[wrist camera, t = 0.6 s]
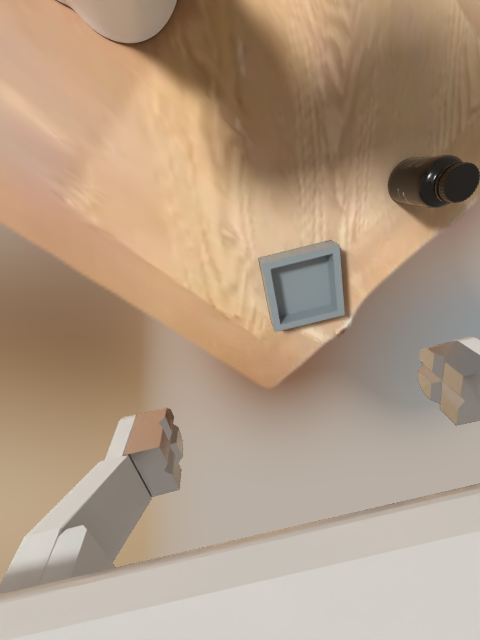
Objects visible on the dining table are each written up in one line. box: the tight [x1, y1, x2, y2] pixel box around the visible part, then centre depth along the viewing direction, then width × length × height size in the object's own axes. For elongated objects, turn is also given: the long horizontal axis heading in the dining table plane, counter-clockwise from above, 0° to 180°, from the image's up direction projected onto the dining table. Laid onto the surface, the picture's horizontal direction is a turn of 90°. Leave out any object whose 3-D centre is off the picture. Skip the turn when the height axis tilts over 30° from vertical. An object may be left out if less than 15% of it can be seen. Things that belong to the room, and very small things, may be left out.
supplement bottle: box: [388, 155, 480, 208], centre depth 44 cm, size 7×7×12 cm
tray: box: [258, 240, 345, 332], centre depth 54 cm, size 13×13×4 cm
